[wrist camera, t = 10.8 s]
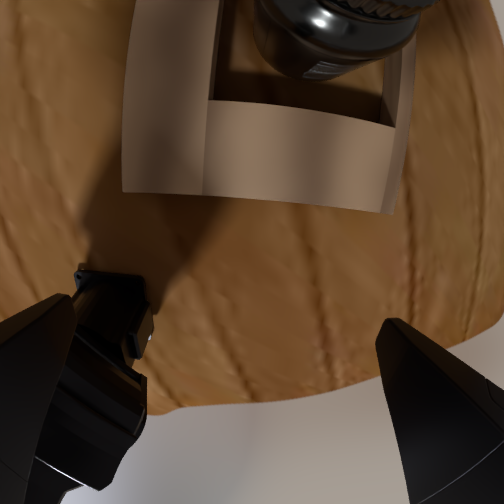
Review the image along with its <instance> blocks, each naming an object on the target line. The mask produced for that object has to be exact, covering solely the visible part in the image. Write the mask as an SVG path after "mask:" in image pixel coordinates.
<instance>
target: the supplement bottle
mask: <svg viewBox="0 0 504 504" xmlns="http://www.w3.org/2000/svg"><path fill="white" fill-rule="evenodd" d="M439 1H440V0H254V19H253V35H254V40H255V44H256V46H257V49H258V51H259V52H260V54H261V56H262V57H263V58H264V60H265V61H266V62H267V63H268V64H269V65H270V66H271V67H273V68H274V69H275V70H277V71H278V72H280V73H281V74H283V75H285V76H287V77H290V78H292V79H296V80H300V81H305V82H322V81H327V80H331V79H334V78H337V77H339V76H342V75H344V74H346V73H348V72H351V71H353V70H355V69H358V68H360V67H363V66H365V65H367V64H370V63H372V62H375V61H377V60H380V59H383V58H385V57H388V56H390V55H392V54H394V53H396V52H398V51H399V50H401V49H402V48H404V47H405V46H406V45H407V44H408V43H409V42H410V41H411V40H412V38H413V37H414V35H415V34H416V31H417V29H418V26H419V23H420V17H421V12H422V11H424V10H426V9H428V8H430V7H431V6H432V5H433V4H435V3H437V2H439Z"/></svg>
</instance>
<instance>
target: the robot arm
mask: <svg viewBox="0 0 504 504" xmlns="http://www.w3.org/2000/svg"><path fill="white" fill-rule="evenodd" d="M78 274H79V275H80V276H81V277H80V276H79V275H78ZM74 278H75V283H76V287H77V291H76V293H75V294H74V295H73V296H72V298H71V297H70V296H69V295H67V294H61V293H57V294H55V295H53V296H51V297H49V298H47V299H45V300H43V301H41V302H39V303H37V304H35V305H33V306H31V307H29V308H27V309H25V310H23V311H21V312H19V313H17V314H15V315H13V316H11V317H9V318H8V319H6V320H4V321H2V322H0V504H60V503H61V501H62V499H63V497H64V496H65V494H66V492H68V491H71V490H74V489H76V488H79V487H81V486H84V485H85V486H87V487H89V488H91V489H93V490H95V491H100V490H102V489H104V488H105V487H107V486H108V485H109V484H110V483H111V482H112V480H113V478H114V475H115V473H116V471H117V468H118V466H119V464H120V462H121V460H122V458H123V457H124V455H125V454H126V452H127V450H128V449H129V448H130V447H131V446H132V445H133V444H134V443H135V442H136V441H137V439H138V438H139V436H140V435H141V433H142V431H143V429H144V426H145V423H146V419H147V377H145V376H144V375H143V374H139V373H138V372H136V371H135V370H134V369H132V366H133V363H134V360H135V359H137V360H140V359H141V358H142V356H143V353H144V350H145V348H146V345H147V342H148V340H150V339H151V336H152V328H153V320H152V312H151V304H150V303H149V301H147V296H146V287H145V281H144V279H143V278H142V277H141V276H135V275H125V274H116V273H106V272H97V271H89V270H77V271H76V272H75V273H74ZM136 281H138V282H140V284H138V283H137V282H136ZM375 347H376V352H377V357H378V362H379V368H380V373H381V378H382V384H383V388H384V393H385V397H386V401H387V404H388V408H389V412H390V415H391V419H392V423H393V427H394V430H395V435H396V439H397V443H398V447H399V452H400V456H401V461H402V465H403V470H404V475H405V480H406V485H407V491H408V496H409V501H410V504H504V390H503V389H501V388H500V387H498V386H497V385H495V384H494V383H492V382H491V381H490V380H488V379H485V377H484V376H483V375H481V374H480V373H478V372H477V371H476V370H474V369H473V368H471V367H470V366H468V365H467V364H466V363H464V362H463V361H461V360H460V359H458V358H457V357H456V356H454V355H453V354H451V353H450V352H448V351H447V350H445V349H444V348H443V347H441V346H440V345H438V344H437V343H435V342H434V341H432V340H431V339H429V338H428V337H427V336H425V335H424V334H422V333H421V332H419V331H418V330H416V329H415V328H413V327H412V326H410V325H409V324H407V323H406V322H404V321H403V320H401V319H400V318H387V319H385V320H384V322H383V324H382V327H381V329H380V331H379V334H378V336H377V338H376V342H375Z"/></svg>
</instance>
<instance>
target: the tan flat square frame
mask: <svg viewBox="0 0 504 504" xmlns="http://www.w3.org/2000/svg"><path fill="white" fill-rule="evenodd" d="M223 7H224V0H136V4H135V9H134V15H133V20H132V26H131V33H130V39H129V47H128V54H127V63H126V72H125V83H124V97H123V114H122V192H135V193H166V194H188V195H206V196H222V197H236V198H249V199H261V200H273V201H283V202H294V203H304V204H313V205H322V206H331V207H339V208H347V209H355V210H362V211H370V212H377V213H384V214H391V215H393V212H394V208H395V203H396V199H397V194H398V190H399V185H400V180H401V175H402V170H403V164H404V159H405V153H406V147H407V140H408V134H409V126H410V119H411V110H412V101H413V91H414V78H415V60H416V34H415V35H414V37H413V38H412V40H411V41H410V42H409V43H408V44H407V45H406V46H405V47H404V48H402V49H401V50H399V51H398V52H396V53H394V54H392V55H390V56H388V57H385V69H384V81H383V92H382V102H381V111H380V119H379V124H377V123H373V122H369V121H365V120H360V119H356V118H351V117H347V116H342V115H337V114H331V113H326V112H320V111H314V110H308V109H301V108H294V107H287V106H279V105H270V104H260V103H248V102H235V101H215V100H213V96H214V85H215V75H216V65H217V56H218V47H219V38H220V30H221V22H222V14H223Z"/></svg>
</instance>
